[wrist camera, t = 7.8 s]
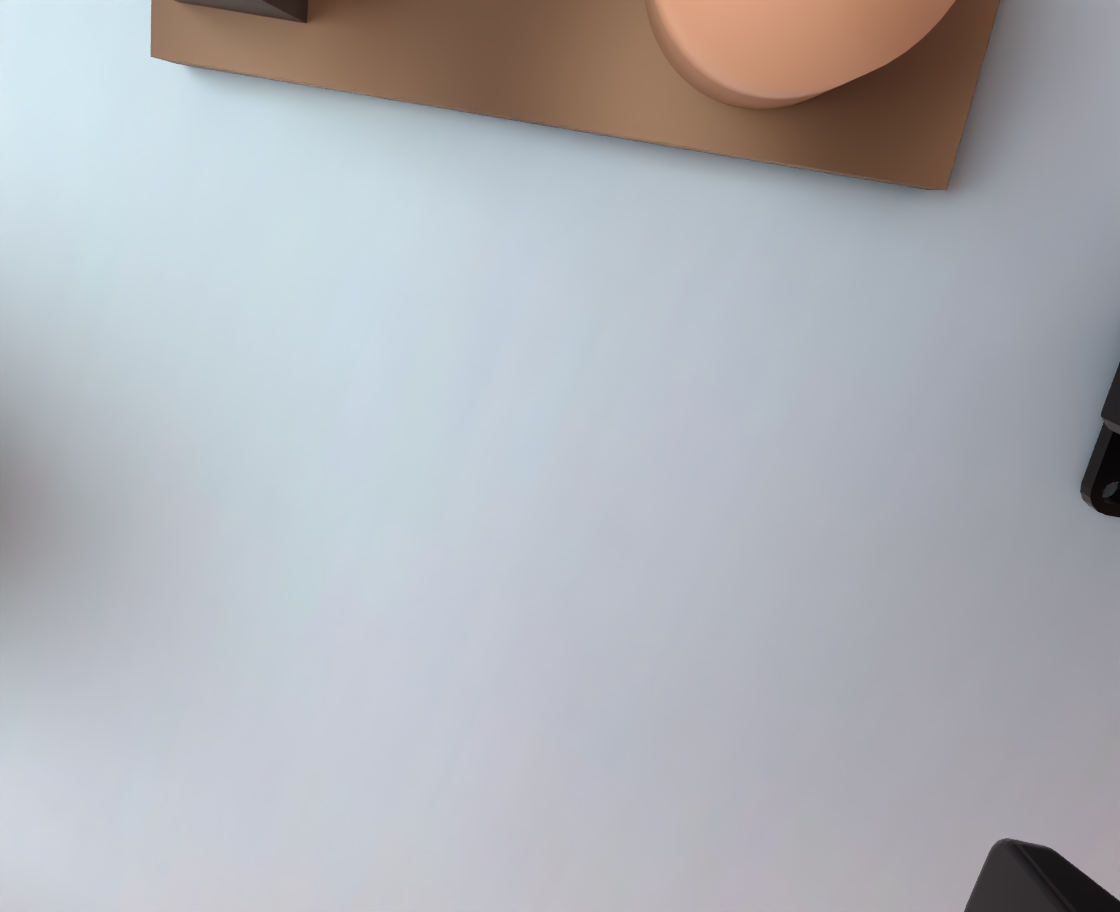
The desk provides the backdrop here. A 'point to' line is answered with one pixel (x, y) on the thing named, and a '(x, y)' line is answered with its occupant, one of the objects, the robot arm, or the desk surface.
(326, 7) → the walnut strip
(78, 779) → the desk surface
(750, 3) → the peach rounded knob
